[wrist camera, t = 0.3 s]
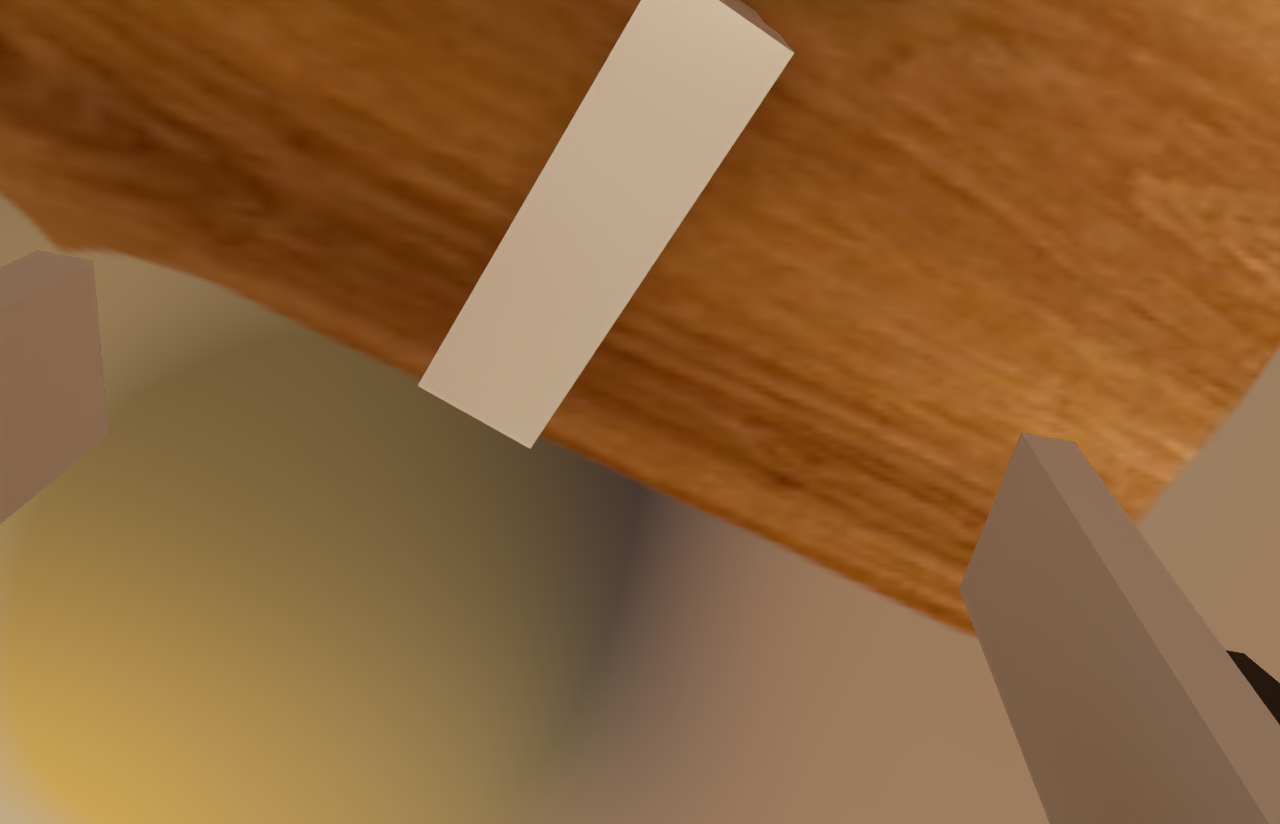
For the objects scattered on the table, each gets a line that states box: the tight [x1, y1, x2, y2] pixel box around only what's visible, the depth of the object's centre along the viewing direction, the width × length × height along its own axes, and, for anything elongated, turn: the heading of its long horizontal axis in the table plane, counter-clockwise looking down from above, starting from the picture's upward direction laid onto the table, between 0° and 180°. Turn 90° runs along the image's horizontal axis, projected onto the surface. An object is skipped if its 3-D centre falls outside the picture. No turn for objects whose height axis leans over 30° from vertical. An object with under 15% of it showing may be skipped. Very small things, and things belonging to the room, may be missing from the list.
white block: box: [418, 0, 794, 448], centre depth 31 cm, size 14×4×10 cm, turn 148°
